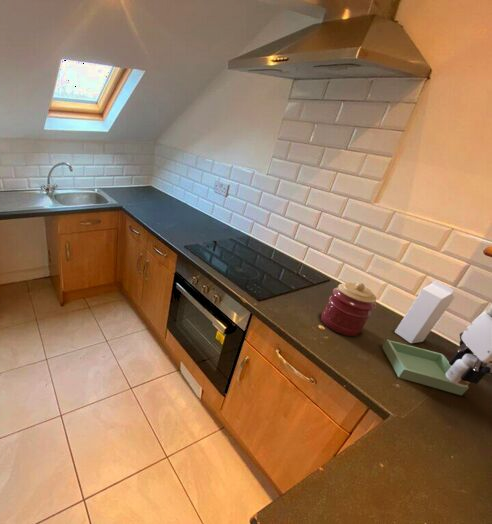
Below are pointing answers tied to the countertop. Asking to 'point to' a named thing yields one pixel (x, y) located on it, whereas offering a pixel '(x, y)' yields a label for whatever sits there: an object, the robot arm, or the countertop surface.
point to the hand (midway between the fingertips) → (462, 372)
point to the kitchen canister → (349, 308)
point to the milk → (425, 312)
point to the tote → (421, 366)
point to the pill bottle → (461, 369)
